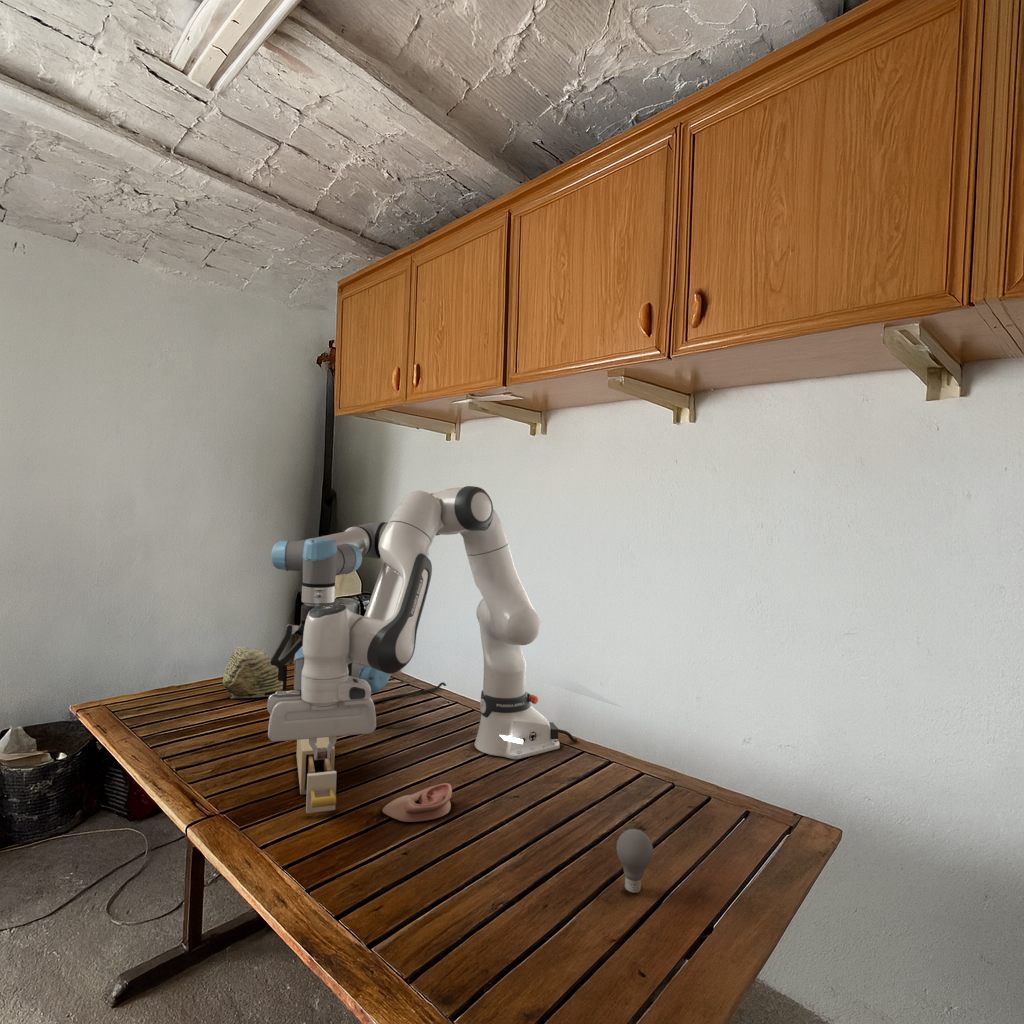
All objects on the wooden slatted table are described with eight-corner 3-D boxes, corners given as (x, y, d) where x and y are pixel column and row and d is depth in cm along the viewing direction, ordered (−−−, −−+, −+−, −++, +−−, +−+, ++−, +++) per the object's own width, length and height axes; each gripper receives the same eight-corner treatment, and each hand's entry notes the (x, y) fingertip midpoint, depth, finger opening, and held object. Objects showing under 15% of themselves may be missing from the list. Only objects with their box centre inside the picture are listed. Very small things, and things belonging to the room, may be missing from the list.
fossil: (218, 695, 195) (220, 647, 195) (278, 685, 208) (279, 640, 207) (228, 703, 189) (230, 653, 188) (289, 692, 201) (290, 645, 201)
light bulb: (610, 879, 108) (613, 822, 108) (644, 879, 109) (647, 822, 109) (619, 902, 102) (622, 840, 102) (655, 901, 103) (658, 840, 103)
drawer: (338, 823, 121) (339, 785, 121) (307, 828, 119) (309, 788, 119) (326, 768, 146) (327, 735, 146) (301, 770, 144) (302, 738, 144)
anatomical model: (376, 797, 126) (398, 774, 137) (375, 817, 126) (397, 792, 137) (440, 807, 123) (457, 782, 134) (439, 827, 123) (456, 800, 134)
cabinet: (333, 791, 137) (334, 748, 136) (300, 794, 134) (302, 751, 134) (325, 752, 157) (326, 714, 157) (296, 755, 154) (297, 717, 154)
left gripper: (261, 607, 142) (257, 700, 143) (373, 605, 151) (369, 693, 152) (261, 601, 149) (258, 691, 150) (369, 600, 158) (365, 684, 159)
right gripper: (267, 696, 117) (264, 770, 117) (379, 689, 124) (376, 759, 124) (267, 686, 123) (265, 757, 123) (374, 680, 130) (371, 747, 130)
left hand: (314, 692), depth 151 cm, fingers open, 13 cm apart
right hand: (321, 758), depth 124 cm, fingers closed
